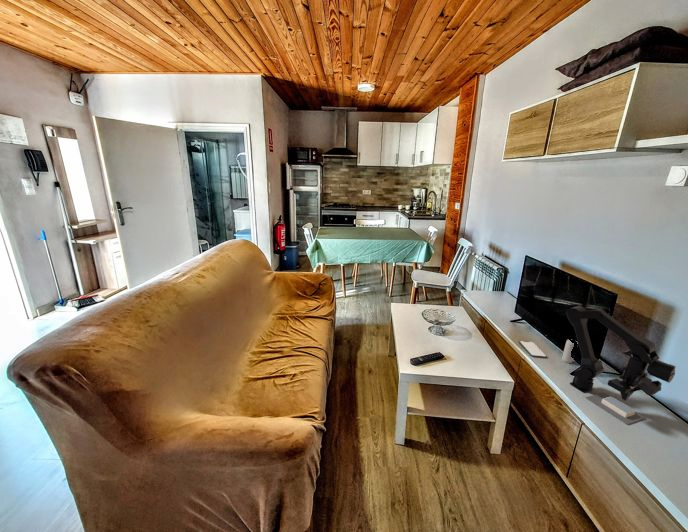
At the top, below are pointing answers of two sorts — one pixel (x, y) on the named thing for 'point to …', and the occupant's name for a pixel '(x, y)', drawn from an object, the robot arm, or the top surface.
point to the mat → (628, 420)
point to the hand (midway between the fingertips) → (624, 399)
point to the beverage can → (568, 352)
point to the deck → (618, 406)
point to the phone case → (532, 349)
